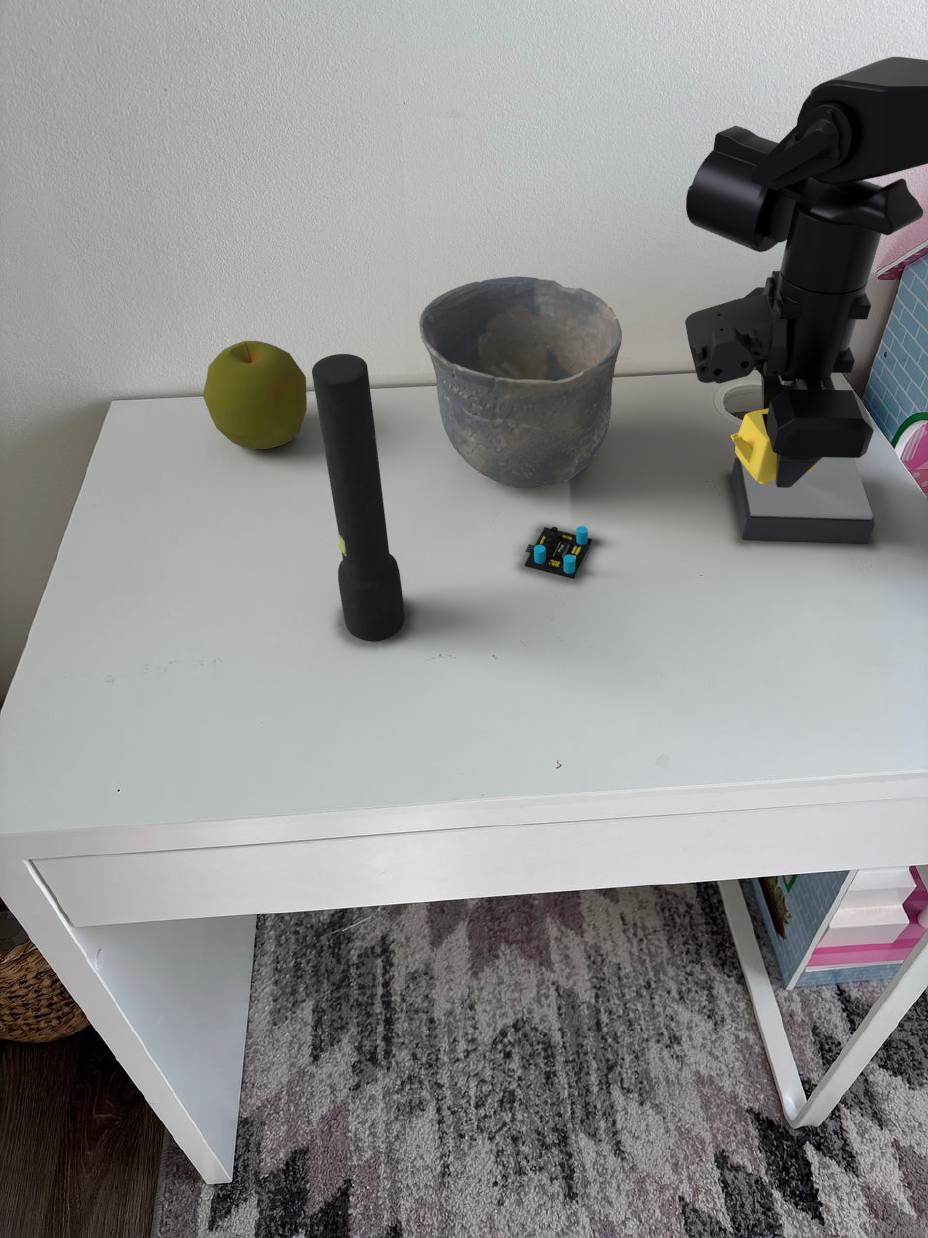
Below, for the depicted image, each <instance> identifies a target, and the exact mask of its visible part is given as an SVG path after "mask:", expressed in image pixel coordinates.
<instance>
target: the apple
mask: <svg viewBox="0 0 928 1238" xmlns="http://www.w3.org/2000/svg"><path fill="white" fill-rule="evenodd" d="M307 395H308V394H307V377H306V375H305V374H304V372H303V370H302V369H301V368H300V366H299V365H298V364H297V362H296V360H295V359H294V357H293V356H292V355H291V353H290V352H288V351H286V350H284V349H282V348H280V347H278V346H277V345H274V344H271V343H268V342H263V341H259V340H243V341H241V342H237V343H234V344H232V345H230V346H228V347H225V348H224V349H223V350H222V351H220V353H218V354H217V356H216V357H215V358H214V359H213V360H212V361H211V363H210V364H209V365H208V366H207V374H206V380H205V384H204V389H203V393H202V398H203V400H204V403H205V405H206V407H207V410H208V413H209V416H210V418H211V421H212V422H213V424H214V426H215V428H216V429H217V430H218V431H219V432H220V433H221V434H222V435H223V436H224V437H226V439H228V440H229V441H230V443H232V444H235V445H237V446H239V447H242V448H246V449H251V450H266V449H272V448H276V447H280V446H283V445H286V444H287V443H289V442H290V441H291V440H294V438H295V437H296V436H297V435H298V433H299V432H300V430H301V427H302V425H303V422H304V419H305V416H306V413H307V410H308V409H307V407H308V403H307V402H308V399H307V397H308V396H307Z"/></svg>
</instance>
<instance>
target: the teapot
mask: <svg viewBox="0 0 928 1238" xmlns="http://www.w3.org/2000/svg"><path fill="white" fill-rule="evenodd" d="M768 410H769V408H768V409H763V408H762V409H758V410H754V411H750V412H747V413H745V414H744V416H743V419H742V422H741V425H740V427H739V430H738V432H735V433H733V434H731V435H730V438H731V440H732V441H733V443H734V445H735V446H734V448H735V449H734V452H735V455H736V456H737V458H739V459H740V461H741V462H742V463H743V465H744V466H745V468H746V469H747V470H748V471H749V473H750V474H751V475H752V477H753V478H754V479H755V480H756V481H758V482H759V483H761V484H764V485H766V484H769V483H770V482H771V480H775V479H776V461H777V454H776V453H775V452H773V450H772V447H771V443H770V439H769V437H768V435H767V432H766V429H765V425H764V421H763V417H762V414H768ZM814 466H815V465H814ZM814 466H813V467H812V468H811V469H810V470H809V471H807V472H806V473H808V472H811V471H812V470H813V468H814Z"/></svg>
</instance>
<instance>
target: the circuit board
mask: <svg viewBox="0 0 928 1238" xmlns="http://www.w3.org/2000/svg"><path fill="white" fill-rule="evenodd" d="M575 530H576V532H575V533H576V534H574V533H570V532H567V531H562V530H559V528H558V527H557V526H552V527H551V528H550V527H547V526H544V527H543V529H542V531H541V532H540V535H539V537H538V539H537V540H536V543H535V544H530V543H529V544H528V545H527V546H526V549H524V550H525V551H524V552H526V553H529V555H528V557H527V559H526V560H525V562H524V567H526V568H530V569H534V570H536V571H541V572H545V573H549V574H552V575H556V576H560V577H564V578H568V579H572V580H574V579H575V577H576V575H577V573H578V571H579V569H580V567H581V565H582V563H583V561H584V559H585V556H586V555H587V552H588V550H589V549H590V547H591V544H592V542H593V538H591V537H589V535H588V534H589V529H588V527H587V526H585V525H579V526H577V527H576V529H575Z"/></svg>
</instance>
